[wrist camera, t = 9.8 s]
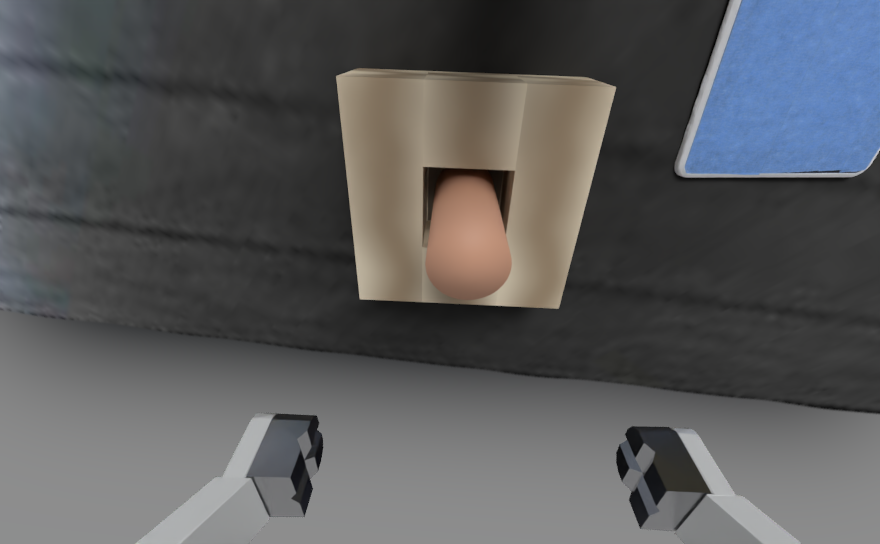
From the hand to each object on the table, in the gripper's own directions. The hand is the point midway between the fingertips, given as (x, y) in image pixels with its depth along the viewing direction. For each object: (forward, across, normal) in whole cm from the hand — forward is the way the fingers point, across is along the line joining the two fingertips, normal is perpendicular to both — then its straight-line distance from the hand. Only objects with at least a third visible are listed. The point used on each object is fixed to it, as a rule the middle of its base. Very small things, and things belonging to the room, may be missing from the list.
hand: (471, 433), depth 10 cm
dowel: (+19, 0, 0) cm, 19 cm away
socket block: (+20, 0, 0) cm, 20 cm away
